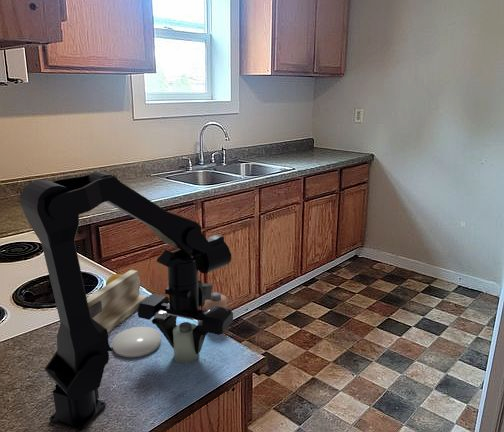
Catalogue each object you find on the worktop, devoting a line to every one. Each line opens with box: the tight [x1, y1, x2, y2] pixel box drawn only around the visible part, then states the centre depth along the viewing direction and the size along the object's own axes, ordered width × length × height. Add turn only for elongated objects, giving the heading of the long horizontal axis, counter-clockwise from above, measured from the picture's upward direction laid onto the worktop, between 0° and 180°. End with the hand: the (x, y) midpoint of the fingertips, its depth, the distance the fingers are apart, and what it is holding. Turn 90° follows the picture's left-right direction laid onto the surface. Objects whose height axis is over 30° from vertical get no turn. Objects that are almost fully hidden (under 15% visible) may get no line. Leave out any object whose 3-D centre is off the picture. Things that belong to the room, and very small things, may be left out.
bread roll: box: [105, 273, 141, 288], centre depth 118 cm, size 8×9×4 cm
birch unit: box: [86, 269, 149, 333], centre depth 101 cm, size 22×5×8 cm, turn 159°
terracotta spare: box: [204, 291, 228, 310], centre depth 100 cm, size 5×5×7 cm
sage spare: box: [173, 321, 200, 364], centre depth 88 cm, size 5×5×7 cm
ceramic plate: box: [111, 326, 162, 358], centre depth 93 cm, size 10×10×1 cm
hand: (186, 350), depth 89 cm, fingers closed on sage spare, 5 cm apart
